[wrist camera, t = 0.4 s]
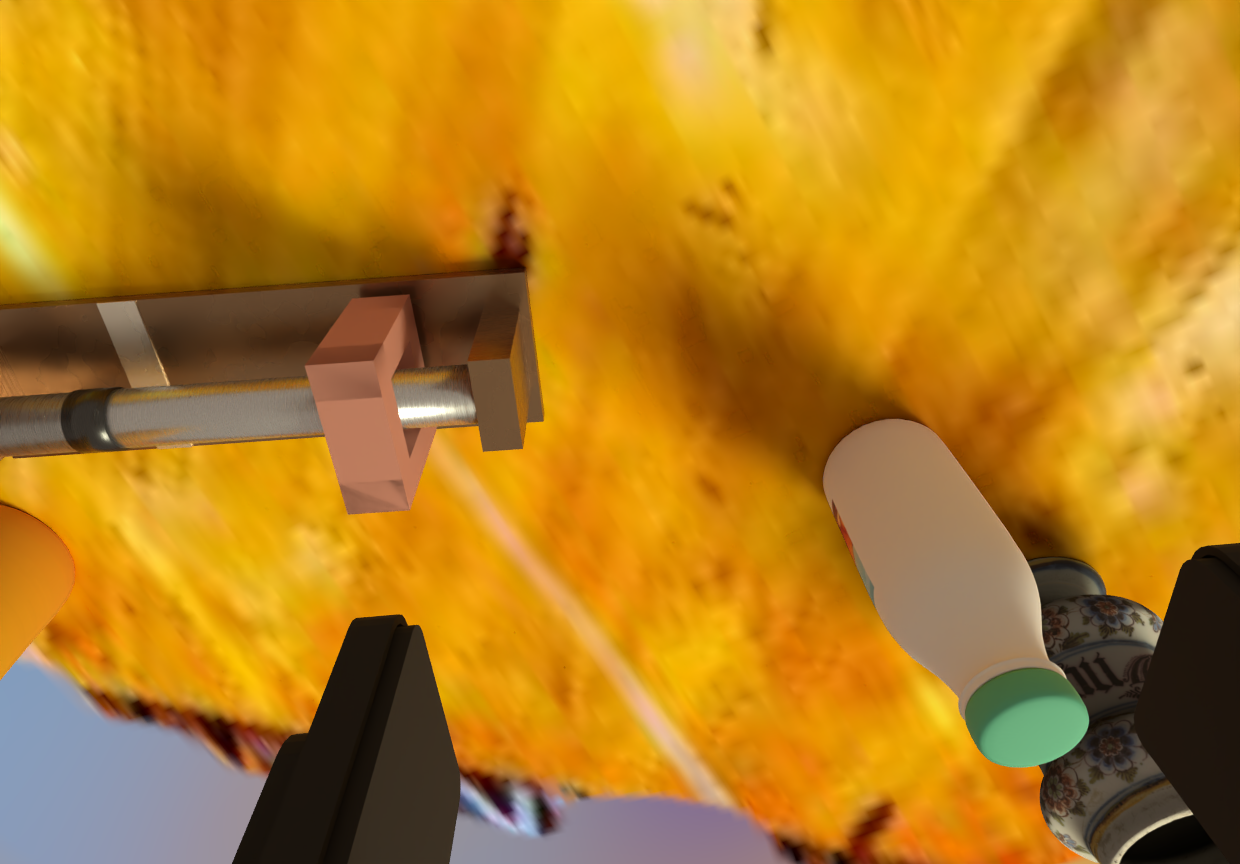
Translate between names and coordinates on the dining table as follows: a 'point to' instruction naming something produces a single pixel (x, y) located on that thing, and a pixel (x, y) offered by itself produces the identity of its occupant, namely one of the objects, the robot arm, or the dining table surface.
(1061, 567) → the apothecary jar
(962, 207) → the dining table surface
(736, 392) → the dining table surface
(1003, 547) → the milk bottle
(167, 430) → the pipe rig
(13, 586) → the beer bottle
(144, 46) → the dining table surface
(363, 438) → the collar
